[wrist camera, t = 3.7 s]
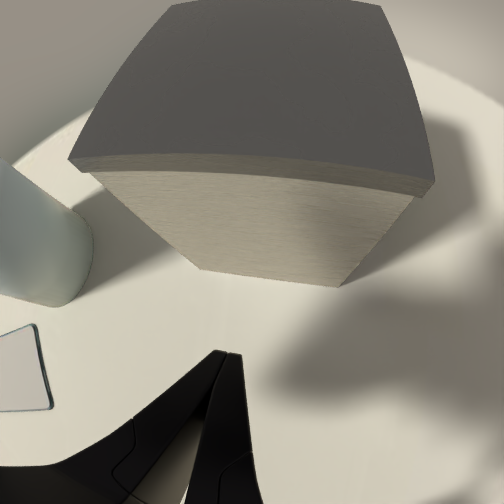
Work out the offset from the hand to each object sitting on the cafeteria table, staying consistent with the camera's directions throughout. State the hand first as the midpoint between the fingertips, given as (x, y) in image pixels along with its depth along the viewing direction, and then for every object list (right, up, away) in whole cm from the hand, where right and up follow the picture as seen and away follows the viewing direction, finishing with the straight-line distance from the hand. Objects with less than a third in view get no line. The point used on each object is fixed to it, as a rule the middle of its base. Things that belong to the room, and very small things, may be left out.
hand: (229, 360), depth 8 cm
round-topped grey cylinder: (-14, +3, +10) cm, 18 cm away
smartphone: (-22, -8, +9) cm, 25 cm away
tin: (+2, +5, +9) cm, 11 cm away
